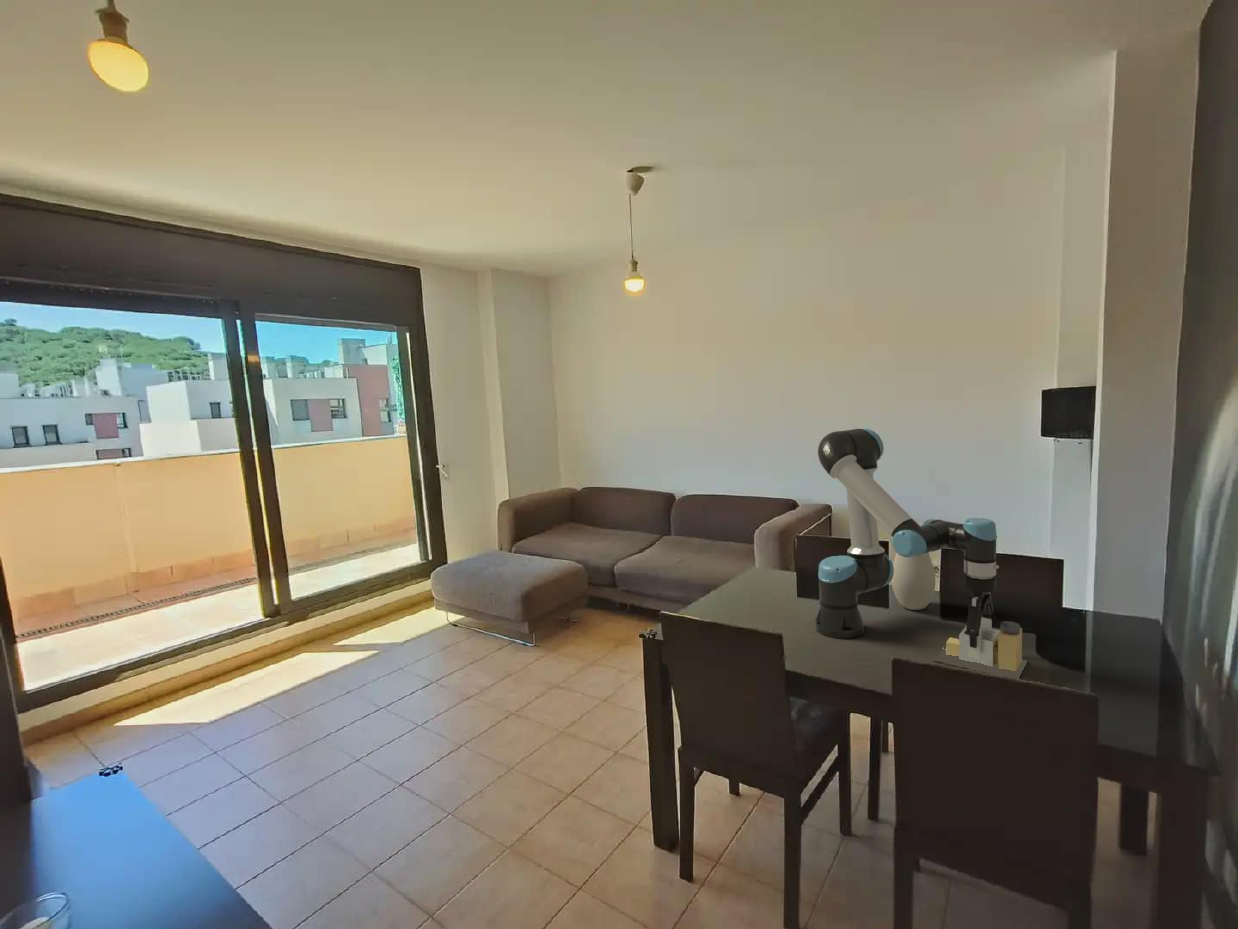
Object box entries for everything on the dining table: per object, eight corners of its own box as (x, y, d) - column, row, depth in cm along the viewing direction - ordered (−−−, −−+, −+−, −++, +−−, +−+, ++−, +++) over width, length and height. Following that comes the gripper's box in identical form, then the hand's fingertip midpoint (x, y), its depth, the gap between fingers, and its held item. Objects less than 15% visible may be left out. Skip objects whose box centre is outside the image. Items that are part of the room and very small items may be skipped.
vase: (943, 607, 200) (942, 523, 197) (922, 618, 192) (921, 530, 189) (905, 597, 211) (903, 518, 208) (883, 607, 204) (882, 524, 201)
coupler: (944, 658, 163) (943, 617, 162) (952, 648, 169) (951, 608, 167) (1016, 675, 151) (1017, 631, 150) (1022, 663, 157) (1022, 621, 156)
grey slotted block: (959, 662, 160) (959, 634, 159) (967, 650, 166) (967, 624, 166) (992, 670, 155) (992, 641, 154) (1000, 657, 161) (1000, 630, 160)
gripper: (985, 590, 146) (985, 669, 149) (1005, 565, 164) (1005, 636, 166) (952, 585, 151) (952, 661, 154) (975, 561, 169) (975, 630, 172)
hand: (980, 648), depth 160 cm, fingers open, 13 cm apart
